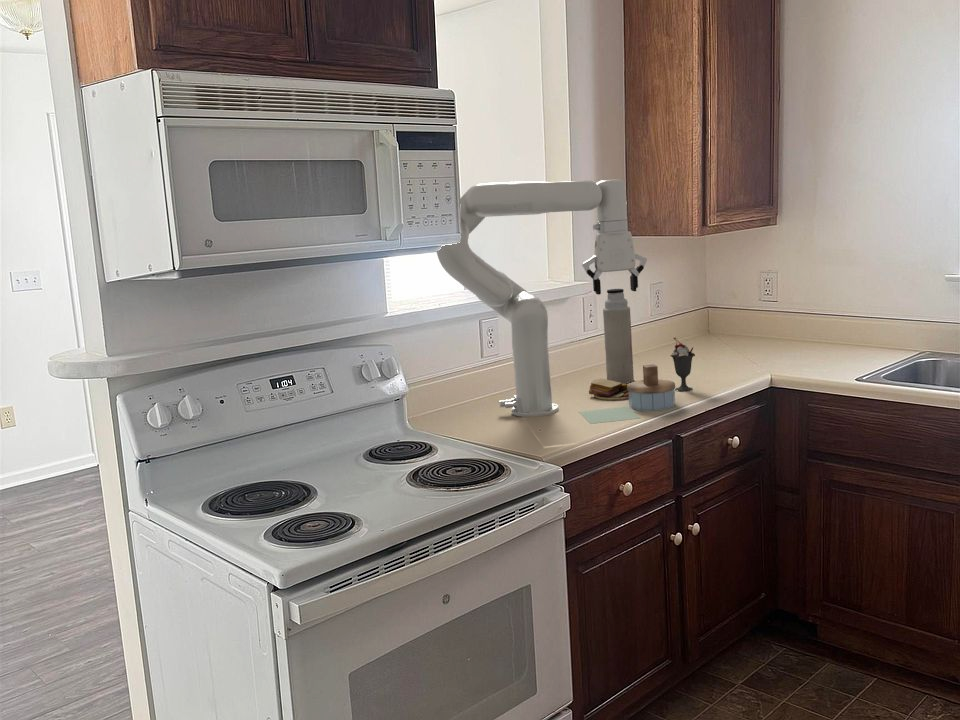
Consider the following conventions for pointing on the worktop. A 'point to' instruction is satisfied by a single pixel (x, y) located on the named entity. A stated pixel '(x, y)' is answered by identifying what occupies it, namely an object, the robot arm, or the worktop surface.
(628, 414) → the mat
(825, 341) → the worktop surface
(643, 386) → the lid
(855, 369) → the worktop surface
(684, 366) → the sundae
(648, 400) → the bowl
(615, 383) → the toy sandwich meal
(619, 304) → the thermos bottle
